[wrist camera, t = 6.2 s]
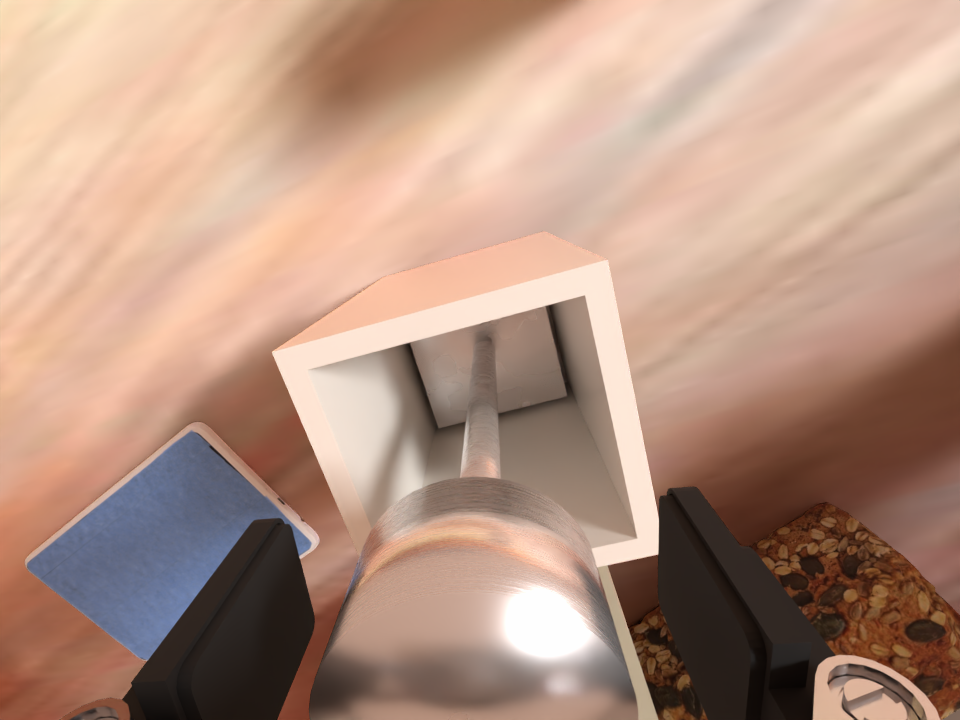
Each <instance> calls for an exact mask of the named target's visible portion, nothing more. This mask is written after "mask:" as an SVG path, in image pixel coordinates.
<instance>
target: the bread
mask: <svg viewBox="0 0 960 720" xmlns="http://www.w3.org/2000/svg"><path fill="white" fill-rule="evenodd" d="M749 547H750V548H752V549H753V550H754V551H755V552H756V553H757V554H758V555H759V557H760V558H761V559H762V561H763V562H764V563H765V564H766V566H767V567H768V568H769V570H770V571H771V572H772V574H773V575H774V576H775V577H776V579H777V580H778V581H779V583H780V584H781V585H782V586H783V588H784V589H785V590H786V592H787V593H788V594H789V596H790V597H791V598H792V599H793V601H794V602H795V603H796V605H797V606H798V607H799V608H800V610H801V611H802V612H803V614H804V615H805V616H806V617H807V619H808V620H809V621H810V623H811V624H812V625H813V627H814V628H815V629H816V630H817V632H818V633H819V634H820V636H821V637H822V638H823V639H824V641H825V642H826V643H827V645H828V646H829V647H830V649H831V650H832V651H833V652H834V654H835V655H836V656H837V655H852V656H858V657H862V658H866V659H870V660H873V661H875V662H878V663H880V664H882V665H884V666H887V667H889V668H891V669H893V670H894V671H896V672H897V673H899V674H900V675H902V676H903V677H905V678H907V679H908V680H910V681H911V682H912V683H913V684H914V685H915V686H916V687H917V688H918V689H920V690H921V691H922V692H923V693H924V694H925V695H926V696H927V698H928V699H929V700H930V702H931V703H932V704H933V706H934V707H935V708H936V710H937V712H938V715H939V718H940V720H941V719H944V718H945V717H947V716H949V715H950V714H952V713H953V712H955V711H957V710H959V709H960V615H959V614H958V613H957V612H956V611H955V610H954V609H953V608H952V607H951V606H950V605H949V604H948V603H947V602H946V601H945V600H944V599H943V598H941V597H940V596H939V595H938V594H937V593H936V592H935V587H934V586H933V585H932V584H931V583H929V582H928V581H927V580H926V579H925V578H924V577H923V576H922V575H921V573H920V572H919V571H918V570H917V569H916V568H915V567H914V566H913V565H912V564H911V563H910V562H909V561H908V560H907V559H906V558H905V557H904V556H903V555H901V554H900V553H899V552H897V551H896V550H895V549H893V548H892V547H891V546H890V545H888V544H887V543H886V542H885V541H883V540H882V539H880V538H879V537H878V536H876V535H875V534H874V533H873V532H871V531H870V530H869V529H868V528H866V527H865V526H864V525H863V524H861V523H860V522H859V521H857V520H856V519H854V518H853V517H852V516H850V515H849V514H848V513H847V512H845V511H843V510H841V509H839V508H837V507H835V506H833V505H831V504H829V503H825V504H818V505H816V506H815V507H813V508H811V509H810V510H808V511H806V512H805V513H804V516H802V517H800V518H798V519H796V520H794V521H793V522H791V523H789V524H787V525H786V526H784V527H782V528H780V529H777V530H776V531H774V532H773V533H771V535H770V536H769V537H768V539H763V540H761V541H759V542H757V543H755V544H753V545H751V546H749ZM629 632H630V635H631V638H632V641H633V644H634V647H635V650H636V653H637V656H638V659H639V662H640V666H641V669H642V672H643V675H644V678H645V681H646V684H647V687H648V690H649V693H650V696H651V699H652V702H653V705H654V708H655V711H656V714H657V717H658V720H708V719H707V716H706V714H705V712H704V709H703V707H702V705H701V702H700V700H699V698H698V695H697V693H696V691H695V688H694V686H693V684H692V681H691V679H690V677H689V674H688V672H687V670H686V667H685V665H684V663H683V660H682V658H681V656H680V653H679V651H678V648H677V646H676V644H675V641H674V639H673V637H672V634H671V632H670V630H669V627H668V625H667V623H666V620H665V618H664V616H663V613H662V611H661V608H660V606H658V607H657V608H656V609H655V610H653V611H651V612H649V613H648V614H647V615H646V616H644V618H643V620H642V622H641V624H637V625H635V626H632V627H631V628H630V629H629Z"/></svg>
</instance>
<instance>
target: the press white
mask: <svg viewBox="0 0 960 720" xmlns="http://www.w3.org/2000/svg"><path fill="white" fill-rule="evenodd" d="M543 306H546V310H547V314H548V318H549V323H550V327H551V331H552V335H553V339H554V343H555V347H556V351H557V356H558V360H559V364H560V368H561V372H562V376H563V380H564V384H565V389H566V393H567V396H566V397H562V398H558V399H554V400H550V401H546V402H542V403H538V404H534V405H530V406H526V407H522V408H518V409H514V410H510V411H506V412H502V413H498V422H499V444H500V466H501V479H503V480H509V481H512V482H515V483H519V484H522V485H525V486H527V487H530V488H532V489H534V490H537V491H539V492H541V493H542V494H544V495H546V496H548V497H549V498H551V499H553V500H554V501H555V502H556V503H558V504H559V505H560V506H562V507H563V508H564V509H565V510H566V511H567V512H568V513H569V514H570V515H571V516H572V517H573V518H574V519H575V520H576V522H577V523H578V524H579V526H580V527H581V529H582V530H583V531H584V533H585V535H586V537H587V539H588V541H589V543H590V546H591V549H592V552H593V555H594V558H595V561H596V565H597V567H602V566H606V565H611V564H616V563H620V562H625V561H630V560H634V559H639V558H644V557H649V556H653V555H658V546H659V517H658V512H657V507H656V502H655V496H654V491H653V486H652V481H651V476H650V471H649V466H648V461H647V456H646V451H645V446H644V441H643V436H642V431H641V426H640V421H639V415H638V410H637V405H636V400H635V395H634V390H633V385H632V380H631V375H630V370H629V365H628V360H627V355H626V350H625V345H624V339H623V334H622V329H621V324H620V319H619V314H618V309H617V304H616V299H615V294H614V289H613V284H612V279H611V274H610V269H609V264H608V259H605V258H603V257H601V256H599V255H596V254H594V253H592V252H590V251H587V250H585V249H583V248H581V247H578V246H576V245H574V244H572V243H570V242H567V241H565V240H563V239H561V238H558V237H556V236H554V235H552V234H549V233H547V232H545V231H543V232H539V233H536V234H532V235H529V236H525V237H521V238H518V239H514V240H511V241H507V242H504V243H500V244H497V245H493V246H490V247H486V248H483V249H479V250H476V251H472V252H469V253H465V254H462V255H458V256H455V257H451V258H448V259H444V260H441V261H437V262H434V263H430V264H427V265H423V266H420V267H416V268H413V269H409V270H406V271H402V272H399V273H395V274H392V275H388V276H385V277H383V278H381V279H380V280H378V281H377V282H375V283H374V284H372V285H371V286H369V287H368V288H366V289H365V290H363V291H362V292H360V293H359V294H358V295H356V296H355V297H353V298H352V299H350V300H349V301H347V302H346V303H344V304H343V305H341V306H340V307H338V308H337V309H335V310H334V311H332V312H331V313H329V314H328V315H326V316H325V317H323V318H322V319H320V320H319V321H317V322H316V323H314V324H313V325H311V326H310V327H308V328H307V329H305V330H304V331H302V332H301V333H299V334H298V335H296V336H295V337H293V338H292V339H290V340H289V341H287V342H286V343H284V344H283V345H281V346H280V347H278V348H277V349H275V350H274V351H272V354H273V356H274V359H275V361H276V363H277V366H278V368H279V370H280V373H281V375H282V377H283V380H284V382H285V385H286V387H287V389H288V392H289V394H290V396H291V399H292V401H293V403H294V406H295V408H296V410H297V413H298V415H299V417H300V420H301V422H302V424H303V427H304V429H305V431H306V434H307V436H308V438H309V441H310V443H311V445H312V448H313V450H314V452H315V455H316V457H317V459H318V462H319V464H320V467H321V469H322V471H323V474H324V476H325V478H326V481H327V483H328V485H329V488H330V490H331V492H332V495H333V497H334V499H335V502H336V504H337V506H338V509H339V511H340V513H341V516H342V518H343V520H344V523H345V525H346V527H347V530H348V532H349V534H350V537H351V539H352V541H353V544H354V546H355V549H356V551H357V553H358V556H359V557H360V555H361V552H362V549H363V547H364V544H365V541H366V539H367V537H368V535H369V533H370V531H371V530H372V528H373V527H374V525H375V524H376V522H377V521H378V519H379V518H380V517H381V516H382V515H383V514H384V513H385V512H386V511H387V510H388V509H389V508H390V507H391V506H392V505H394V504H395V503H396V502H397V501H399V500H400V499H402V498H403V497H405V496H406V495H408V494H410V493H411V492H413V491H415V490H418V489H420V488H422V487H424V486H427V485H430V484H433V483H436V482H440V481H443V480H449V479H454V478H460V471H461V462H462V452H463V443H464V434H465V424H466V422H462V423H458V424H454V425H450V426H446V427H442V428H438V425H437V422H436V419H435V416H434V413H433V410H432V407H431V404H430V401H429V398H428V395H427V392H426V389H425V386H424V384H423V381H422V378H421V375H420V372H419V369H418V366H417V363H416V360H415V357H414V354H413V351H412V348H411V345H410V342H413V341H417V340H421V339H424V338H428V337H432V336H435V335H439V334H443V333H447V332H450V331H454V330H458V329H461V328H465V327H469V326H473V325H476V324H480V323H484V322H487V321H491V320H495V319H499V318H502V317H506V316H510V315H513V314H517V313H521V312H525V311H528V310H532V309H536V308H539V307H543Z"/></svg>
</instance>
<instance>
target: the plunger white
mask: <svg viewBox="0 0 960 720" xmlns="http://www.w3.org/2000/svg"><path fill="white" fill-rule="evenodd" d="M410 345H411V348H412V351H413V354H414V357H415V360H416V363H417V366H418V369H419V372H420V375H421V378H422V381H423V384H424V386H425V389H426V392H427V395H428V398H429V401H430V404H431V407H432V410H433V413H434V416H435V419H436V422H437V425H438V428H442V427H446V426H450V425H454V424H458V423H462V422H466V424H465V434H464V443H463V452H462V462H461V471H460V478H454V479H449V480H443V481H440V482H436V483H433V484H430V485H427V486H424V487H422V488H420V489H418V490H415V491H413V492H411V493H410V494H408V495H406V496H405V497H403V498H402V499H400V500H399V501H397V502H396V503H395V504H394V505H392V506H391V507H390V508H389V509H388V510H387V511H386V512H385V513H384V514H383V515H382V516H381V517H380V518H379V519H378V521H377V522H376V524H375V525H374V527H373V528H372V530H371V531H370V533H369V535H368V537H367V539H366V541H365V544H364V547H363V549H362V552H361V555H360V557H359V560H358V563H357V566H356V568H355V571H354V574H353V576H352V579H351V582H350V585H349V587H348V590H347V593H346V595H345V598H344V601H343V604H342V606H341V609H340V612H339V614H338V617H337V620H336V623H335V625H334V628H333V631H332V633H331V636H330V639H329V642H328V644H327V647H326V650H325V652H324V655H323V658H322V661H321V663H320V666H319V669H318V672H317V674H316V677H315V680H314V684H313V687H312V690H311V694H310V704H309V716H310V720H638V706H637V699H636V694H635V691H634V688H633V684H632V681H631V678H630V674H629V671H628V668H627V664H626V661H625V658H624V654H623V651H622V648H621V644H620V641H619V638H618V635H617V631H616V628H615V625H614V621H613V618H612V615H611V611H610V608H609V605H608V601H607V598H606V595H605V591H604V588H603V585H602V581H601V578H600V575H599V571H598V568H597V565H596V561H595V558H594V555H593V552H592V549H591V546H590V543H589V541H588V539H587V537H586V535H585V533H584V531H583V530H582V529H581V527H580V526H579V524H578V523H577V522H576V520H575V519H574V518H573V517H572V516H571V515H570V514H569V513H568V512H567V511H566V510H565V509H564V508H563V507H562V506H560V505H559V504H558V503H556V502H555V501H554V500H553V499H551V498H549V497H548V496H546V495H544V494H542V493H541V492H539V491H537V490H534V489H532V488H530V487H527V486H525V485H522V484H519V483H515V482H512V481H509V480H503V479H501V466H500V444H499V422H498V413H502V412H506V411H510V410H514V409H518V408H522V407H526V406H530V405H534V404H538V403H542V402H546V401H550V400H554V399H558V398H562V397H566V396H567V393H566V389H565V384H564V380H563V376H562V372H561V368H560V364H559V360H558V356H557V351H556V347H555V343H554V339H553V335H552V331H551V327H550V323H549V318H548V314H547V310H546V306H543V307H539V308H536V309H532V310H528V311H525V312H521V313H517V314H513V315H510V316H506V317H502V318H499V319H495V320H491V321H487V322H484V323H480V324H476V325H473V326H469V327H465V328H461V329H458V330H454V331H450V332H447V333H443V334H439V335H435V336H432V337H428V338H424V339H421V340H417V341H413V342H410Z"/></svg>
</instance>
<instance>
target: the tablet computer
mask: <svg viewBox="0 0 960 720" xmlns="http://www.w3.org/2000/svg"><path fill="white" fill-rule="evenodd" d="M270 518H281V519H282V520H283V521H284V523H285V524H290V526H291V527H292V530H293V534H294V538H295V542H296V546H297V550H298V554H299V558H300V559H302V558H303V557H304V556H306V555H307V554H309V553H310V552H312V551H313V550H314V549H315V548H316V547H317V546H318V544H319V537H318V535H317V533H316V532H315V531H314V530H313V529H312V528H311V527H310V526H309V525H308V524H307V523H306V522H304V521H302V520H301V518H300V516H299V515H298V514H297V513H296V512H295V511H294V510H293V509H292V508H291V507H290V506H289V505H288V504H287V503H285V502H284V501H283V500H282V499H281V498H280V497H279V496H278V495H277V494H276V493H275V492H274V491H273V490H272V489H271V488H270V487H269V486H268V485H267V484H266V483H265V482H264V481H263V480H262V479H261V478H260V477H259V476H258V475H257V474H256V473H255V472H254V471H253V470H252V469H251V468H250V467H249V466H248V465H247V464H246V463H245V462H244V461H243V460H242V459H241V458H240V457H239V456H238V455H237V454H236V453H235V452H234V451H233V450H232V449H231V448H230V447H229V446H228V445H227V444H226V443H225V442H224V441H223V440H222V439H221V438H220V437H219V436H218V435H217V434H216V433H215V432H214V431H213V430H212V429H211V428H210V427H209V426H207V425H206V424H204V423H202V422H193V423H191V424H189V425H187V426H186V427H185V428H184V429H182V430H181V431H180V432H179V433H178V434H176V435H175V436H174V437H173V438H171V439H170V440H169V441H168V442H166V443H165V444H164V445H163V446H162V447H160V448H159V449H158V450H157V451H155V452H154V453H153V454H152V455H151V456H149V457H148V458H147V459H146V460H144V461H143V462H142V463H141V464H139V465H138V466H137V467H136V468H135V469H133V470H132V471H131V472H130V473H128V474H127V475H126V476H125V477H123V478H122V479H121V480H120V481H119V482H117V483H116V484H115V485H113V486H112V487H111V488H110V489H109V490H107V491H106V492H105V493H104V494H102V495H101V496H100V497H99V498H97V499H96V500H95V501H94V502H93V503H91V504H90V505H89V506H88V507H86V508H85V509H84V510H83V511H81V512H80V513H79V514H78V515H77V516H75V517H74V518H73V519H72V520H71V521H69V522H68V523H67V524H66V525H64V526H63V527H62V528H61V529H60V530H58V531H57V532H56V533H55V534H53V535H52V536H51V537H50V538H49V539H47V540H46V541H45V542H44V543H42V544H41V545H40V546H39V547H37V548H36V549H35V550H34V551H33V552H31V553H30V554H29V555H28V557H27V558H26V559H25V566H26V568H27V570H28V571H29V572H30V573H31V574H33V575H34V576H35V577H37V578H38V579H39V580H40V581H42V582H43V583H44V584H45V585H47V586H48V587H49V588H50V589H52V590H53V591H54V592H56V593H57V594H58V595H59V596H61V597H62V598H63V599H64V600H66V601H67V602H68V603H69V604H71V605H72V606H73V607H75V608H76V609H77V610H78V611H80V612H81V613H82V614H83V615H85V616H86V617H87V618H88V619H90V620H91V621H92V622H94V623H95V624H96V625H97V626H99V627H100V628H101V629H102V630H104V631H105V632H106V633H108V634H109V635H110V636H111V637H112V638H114V639H115V640H116V641H118V642H119V643H120V644H122V645H123V646H124V647H125V648H127V649H128V650H129V651H130V652H132V653H133V654H134V655H135V656H137V657H138V658H139V659H141V660H144V661H148V660H149V658H150V657H151V656H152V654H153V653H154V652H155V650H156V649H157V648H158V646H159V645H160V644H161V642H162V641H163V640H164V638H165V637H166V636H167V634H168V633H169V632H170V630H171V629H172V628H173V626H174V625H175V624H176V622H177V621H178V620H179V618H180V617H181V616H182V614H183V613H184V612H185V610H186V609H187V608H188V606H189V605H190V604H191V602H192V601H193V600H194V598H195V597H196V596H197V594H198V593H199V592H200V590H201V589H202V588H203V586H204V585H205V584H206V582H207V581H208V580H209V578H210V577H211V576H212V574H213V573H214V572H215V570H216V569H217V568H218V566H219V565H220V564H221V562H222V561H223V560H224V558H225V557H226V556H227V554H228V553H229V552H230V550H231V549H232V548H233V546H234V545H235V544H236V542H237V541H238V540H239V538H240V537H241V536H242V534H243V533H244V532H245V530H246V529H247V528H248V526H249V525H250V524H251V523H252V522H253V521H254V520H257V519H270Z"/></svg>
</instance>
